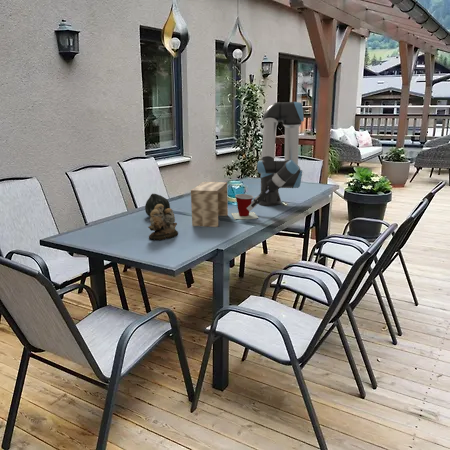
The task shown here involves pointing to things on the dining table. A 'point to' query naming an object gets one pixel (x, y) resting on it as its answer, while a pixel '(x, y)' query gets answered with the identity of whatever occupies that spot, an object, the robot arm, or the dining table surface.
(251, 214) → the mat
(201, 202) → the oak cabinet
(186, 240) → the dining table surface
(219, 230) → the dining table surface
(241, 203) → the plastic cup
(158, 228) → the owl figurine
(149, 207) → the squash
